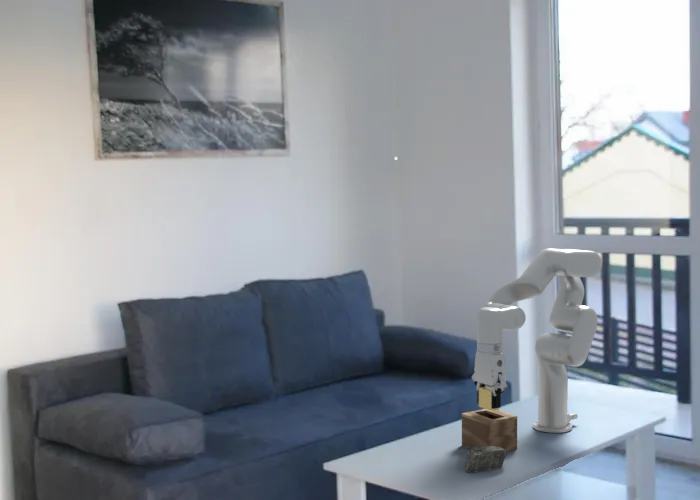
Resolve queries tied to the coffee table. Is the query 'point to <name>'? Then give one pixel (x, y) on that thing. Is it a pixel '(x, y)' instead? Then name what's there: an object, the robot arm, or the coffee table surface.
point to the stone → (484, 458)
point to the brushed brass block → (486, 398)
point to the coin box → (489, 429)
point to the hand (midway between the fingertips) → (488, 405)
